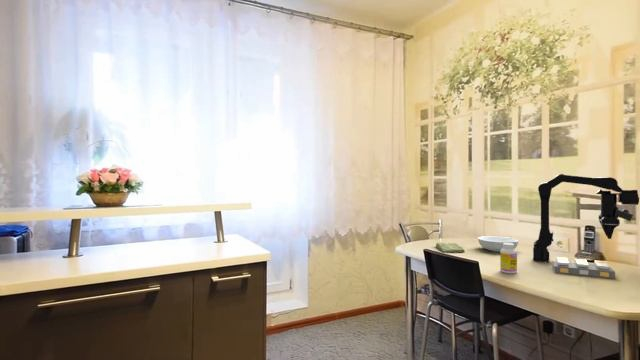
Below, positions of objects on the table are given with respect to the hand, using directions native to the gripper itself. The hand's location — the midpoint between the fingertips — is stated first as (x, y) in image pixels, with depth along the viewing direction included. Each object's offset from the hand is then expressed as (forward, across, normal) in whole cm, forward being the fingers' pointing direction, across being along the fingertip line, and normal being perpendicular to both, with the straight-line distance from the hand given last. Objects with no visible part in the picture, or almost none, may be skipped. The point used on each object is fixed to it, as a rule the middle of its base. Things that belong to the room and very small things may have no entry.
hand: (608, 237), depth 163 cm
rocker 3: (+10, -17, +4) cm, 20 cm away
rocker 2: (+10, -17, +11) cm, 23 cm away
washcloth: (+16, +2, +72) cm, 74 cm away
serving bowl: (+15, +14, +48) cm, 53 cm away
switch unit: (+14, -18, +10) cm, 25 cm away
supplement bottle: (+15, -32, +38) cm, 52 cm away
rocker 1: (+10, -18, +18) cm, 27 cm away
